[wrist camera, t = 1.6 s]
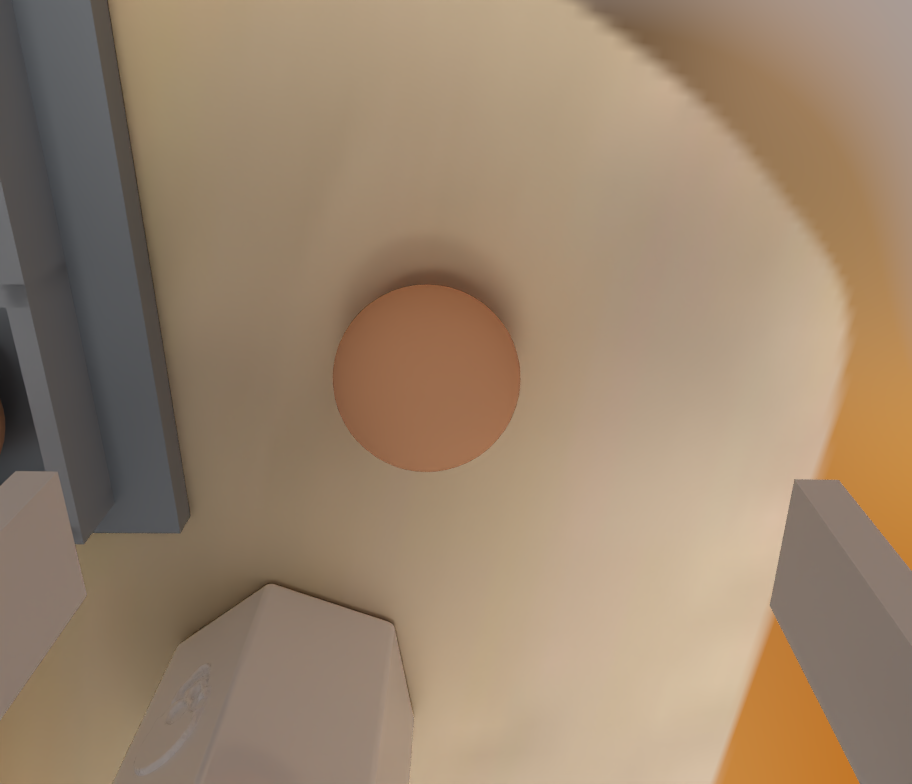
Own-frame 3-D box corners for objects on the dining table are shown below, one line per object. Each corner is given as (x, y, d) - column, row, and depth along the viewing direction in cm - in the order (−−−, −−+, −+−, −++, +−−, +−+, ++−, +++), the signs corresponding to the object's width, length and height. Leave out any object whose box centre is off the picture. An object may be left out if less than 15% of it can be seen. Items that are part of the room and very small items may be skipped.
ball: (351, 420, 25) (325, 507, 20) (341, 262, 23) (310, 319, 18) (512, 421, 25) (523, 508, 20) (517, 262, 23) (530, 320, 18)
